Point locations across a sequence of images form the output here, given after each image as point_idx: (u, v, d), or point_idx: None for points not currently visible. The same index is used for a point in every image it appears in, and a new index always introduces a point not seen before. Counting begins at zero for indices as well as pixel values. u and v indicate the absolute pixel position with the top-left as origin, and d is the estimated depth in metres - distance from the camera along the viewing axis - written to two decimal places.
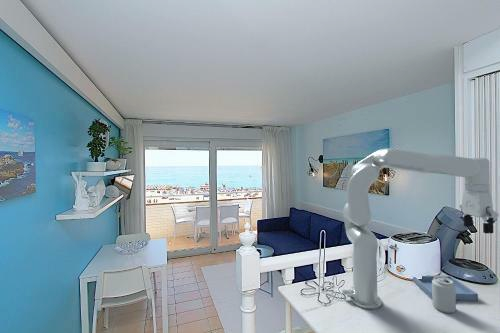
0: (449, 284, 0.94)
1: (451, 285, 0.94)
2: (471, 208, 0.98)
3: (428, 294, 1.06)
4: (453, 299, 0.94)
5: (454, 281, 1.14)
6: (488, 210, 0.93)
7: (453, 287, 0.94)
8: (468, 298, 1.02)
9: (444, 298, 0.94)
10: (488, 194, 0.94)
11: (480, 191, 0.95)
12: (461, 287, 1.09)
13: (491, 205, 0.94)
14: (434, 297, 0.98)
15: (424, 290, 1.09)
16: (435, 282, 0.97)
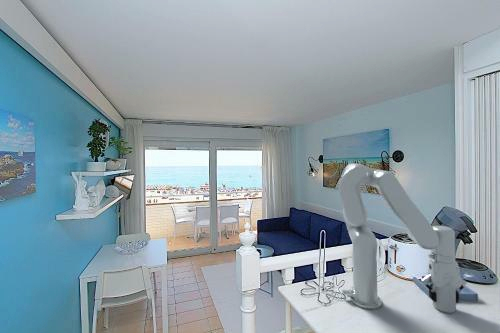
0: (449, 284, 0.94)
1: (451, 285, 0.94)
2: (450, 280, 0.94)
3: (428, 294, 1.06)
4: (453, 299, 0.94)
5: None
6: None
7: (453, 287, 0.94)
8: (468, 298, 1.02)
9: (444, 298, 0.94)
10: None
11: None
12: None
13: None
14: None
15: (424, 290, 1.09)
16: None
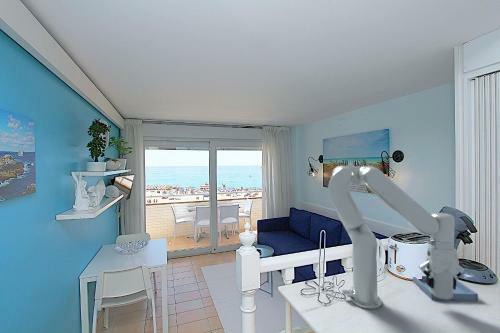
0: (447, 270, 0.94)
1: None
2: (448, 266, 0.94)
3: (428, 294, 1.06)
4: (450, 285, 0.94)
5: None
6: None
7: (451, 273, 0.94)
8: (468, 298, 1.02)
9: (442, 284, 0.94)
10: None
11: None
12: (461, 287, 1.09)
13: None
14: None
15: (424, 290, 1.09)
16: None
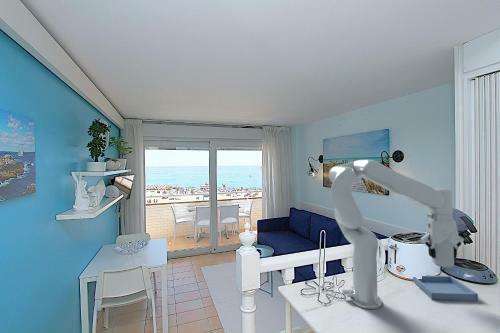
0: (447, 240, 1.01)
1: None
2: (447, 237, 1.01)
3: (428, 294, 1.06)
4: (451, 254, 1.00)
5: (454, 281, 1.14)
6: None
7: (451, 243, 1.01)
8: (468, 298, 1.02)
9: (443, 253, 1.01)
10: None
11: None
12: (461, 287, 1.09)
13: None
14: None
15: (424, 290, 1.09)
16: None
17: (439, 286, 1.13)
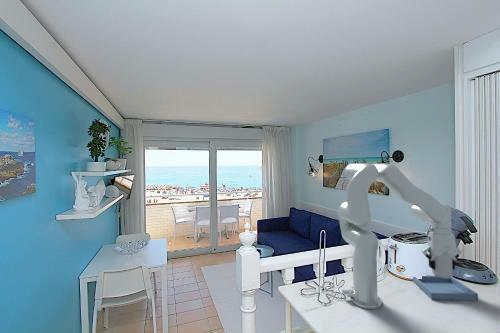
0: (446, 253, 1.07)
1: (448, 254, 1.07)
2: (447, 249, 1.07)
3: (428, 294, 1.06)
4: (450, 266, 1.07)
5: (454, 281, 1.14)
6: None
7: (450, 255, 1.07)
8: (468, 298, 1.02)
9: (442, 265, 1.07)
10: None
11: None
12: (461, 287, 1.09)
13: None
14: None
15: (424, 290, 1.09)
16: None
17: (439, 286, 1.13)
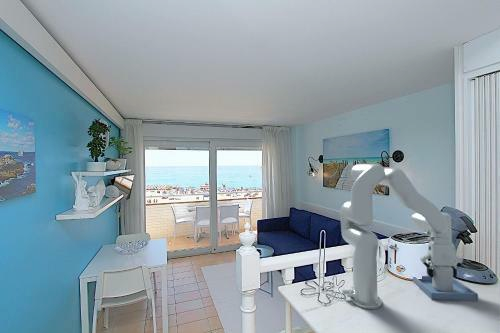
0: (447, 267, 1.07)
1: (449, 268, 1.07)
2: (447, 259, 1.07)
3: (428, 294, 1.06)
4: (451, 280, 1.07)
5: (454, 281, 1.14)
6: None
7: (451, 270, 1.07)
8: (468, 298, 1.02)
9: (443, 279, 1.07)
10: None
11: None
12: (461, 287, 1.09)
13: None
14: (434, 279, 1.10)
15: (424, 290, 1.09)
16: (435, 266, 1.10)
17: None
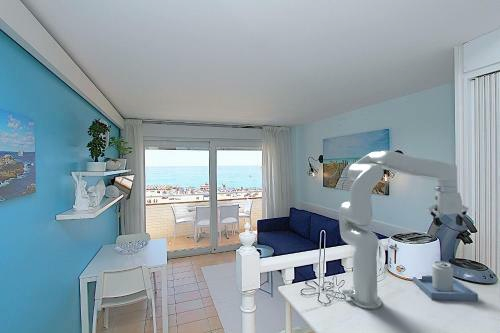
0: (447, 267, 1.07)
1: (449, 268, 1.07)
2: (453, 207, 1.12)
3: (428, 294, 1.06)
4: (451, 280, 1.07)
5: (454, 281, 1.14)
6: None
7: (451, 269, 1.07)
8: (468, 298, 1.02)
9: (443, 279, 1.07)
10: None
11: None
12: (461, 287, 1.09)
13: None
14: (434, 279, 1.10)
15: (424, 290, 1.09)
16: (435, 266, 1.10)
17: None
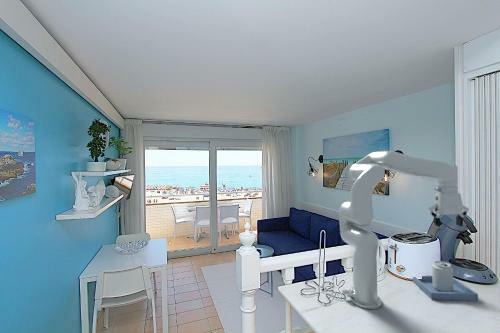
0: (447, 267, 1.07)
1: (449, 268, 1.07)
2: (453, 207, 1.12)
3: (428, 294, 1.06)
4: (451, 280, 1.07)
5: (454, 281, 1.14)
6: None
7: (451, 269, 1.07)
8: (468, 298, 1.02)
9: (443, 279, 1.07)
10: None
11: None
12: (461, 287, 1.09)
13: None
14: (434, 279, 1.10)
15: (424, 290, 1.09)
16: (435, 266, 1.10)
17: None
